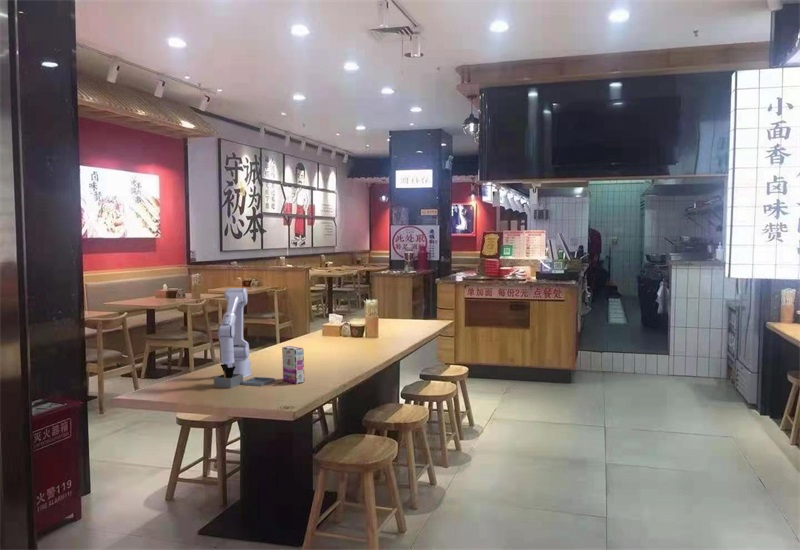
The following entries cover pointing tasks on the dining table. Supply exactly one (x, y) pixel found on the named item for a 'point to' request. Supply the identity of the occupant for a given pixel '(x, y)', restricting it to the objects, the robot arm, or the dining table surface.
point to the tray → (257, 381)
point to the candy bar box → (293, 364)
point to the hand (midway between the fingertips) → (228, 380)
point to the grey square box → (228, 381)
